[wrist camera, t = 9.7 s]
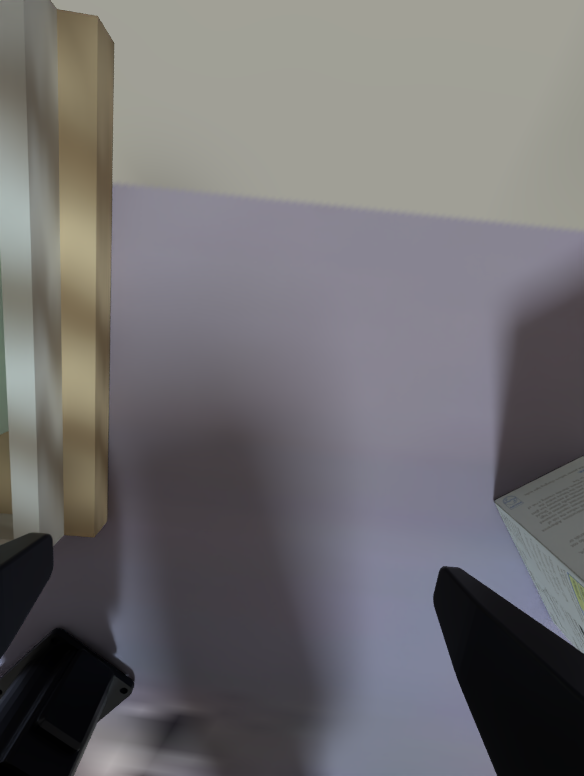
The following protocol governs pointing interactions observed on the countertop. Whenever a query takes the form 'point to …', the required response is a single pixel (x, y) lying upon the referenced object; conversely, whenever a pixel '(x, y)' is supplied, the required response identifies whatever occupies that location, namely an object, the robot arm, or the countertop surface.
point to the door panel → (2, 370)
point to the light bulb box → (552, 542)
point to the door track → (55, 268)
